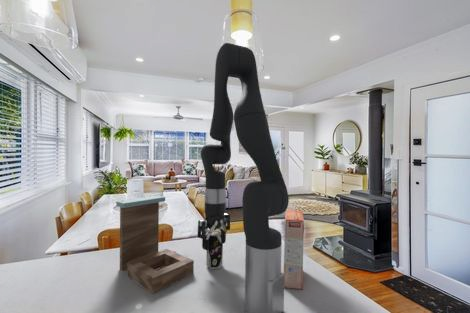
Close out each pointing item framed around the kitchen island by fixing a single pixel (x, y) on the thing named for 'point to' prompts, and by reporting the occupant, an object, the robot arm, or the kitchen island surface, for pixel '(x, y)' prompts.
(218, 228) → the robot arm
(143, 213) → the grey-capped wooden panel
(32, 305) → the kitchen island surface
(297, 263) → the cracker box
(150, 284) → the socket block
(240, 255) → the kitchen island surface
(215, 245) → the beverage can
